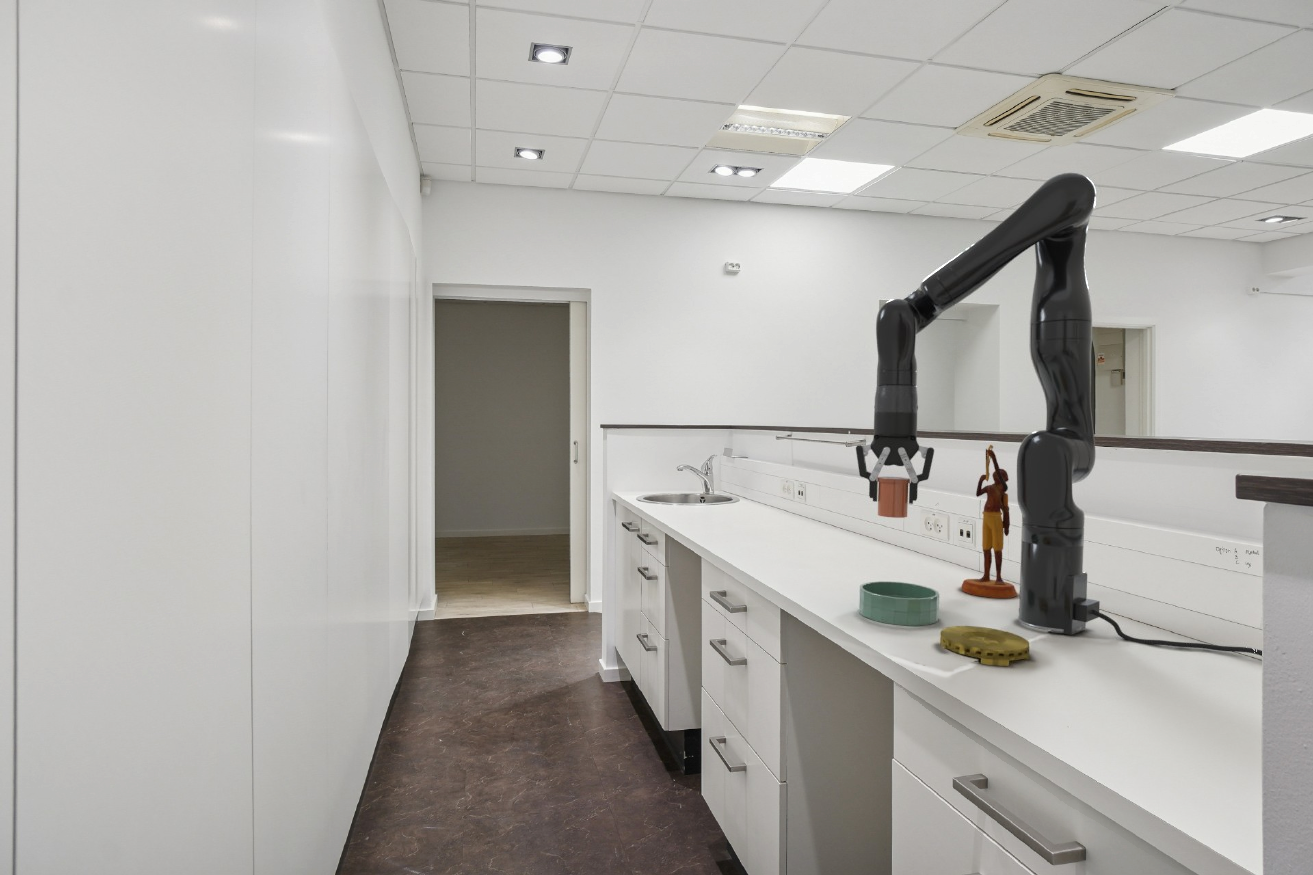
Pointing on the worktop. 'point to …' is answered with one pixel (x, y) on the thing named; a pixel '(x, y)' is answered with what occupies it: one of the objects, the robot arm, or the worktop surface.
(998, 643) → the olive yellow slotted disc
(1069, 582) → the robot arm
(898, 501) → the orange cylinder
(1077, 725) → the worktop surface
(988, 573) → the sculpture
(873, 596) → the bowl
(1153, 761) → the worktop surface
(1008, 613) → the worktop surface
